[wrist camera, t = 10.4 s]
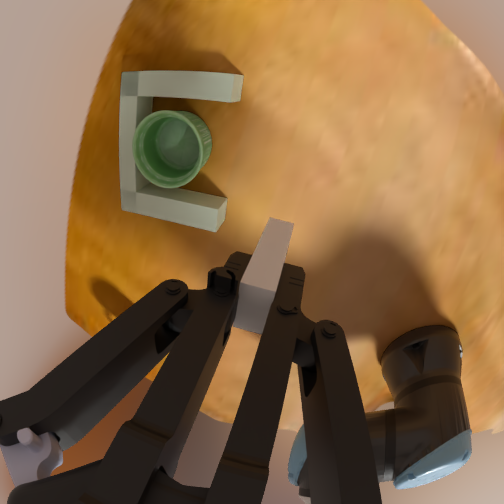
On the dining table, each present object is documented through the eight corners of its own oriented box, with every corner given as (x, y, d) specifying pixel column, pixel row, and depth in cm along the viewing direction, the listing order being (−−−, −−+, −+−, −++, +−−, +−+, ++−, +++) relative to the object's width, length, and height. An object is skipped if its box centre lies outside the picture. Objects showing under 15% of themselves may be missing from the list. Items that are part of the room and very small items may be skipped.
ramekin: (161, 97, 30) (141, 100, 26) (227, 121, 30) (214, 126, 26) (144, 161, 35) (125, 171, 31) (203, 187, 35) (189, 200, 32)
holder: (243, 75, 27) (234, 74, 24) (225, 219, 37) (215, 232, 34) (138, 71, 28) (121, 72, 25) (135, 199, 38) (121, 209, 35)
